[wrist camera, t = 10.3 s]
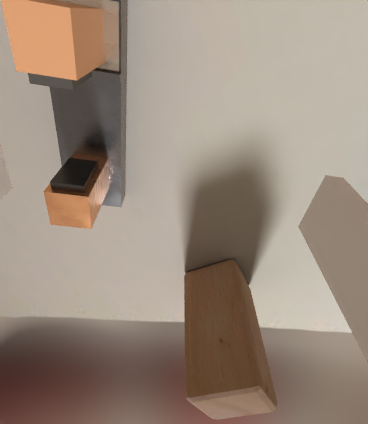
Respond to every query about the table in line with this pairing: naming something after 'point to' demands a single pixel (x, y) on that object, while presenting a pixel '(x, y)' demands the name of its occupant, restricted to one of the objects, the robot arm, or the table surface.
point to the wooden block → (224, 345)
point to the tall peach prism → (55, 40)
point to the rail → (92, 130)
